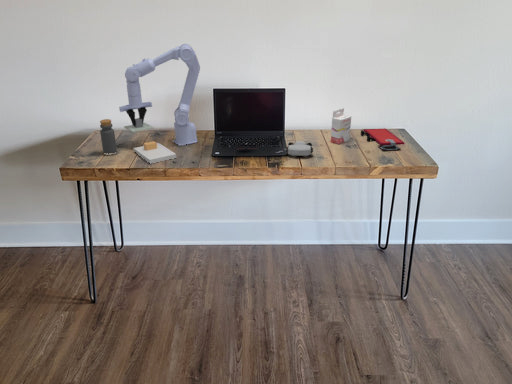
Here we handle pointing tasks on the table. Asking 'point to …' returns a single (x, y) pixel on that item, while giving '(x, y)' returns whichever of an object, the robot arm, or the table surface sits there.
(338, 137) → the ink cartridge box
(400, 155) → the table surface
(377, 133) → the red board with handle
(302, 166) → the table surface
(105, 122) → the bottle
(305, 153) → the robot toy
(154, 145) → the slider
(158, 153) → the white layered base plate
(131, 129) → the cover
